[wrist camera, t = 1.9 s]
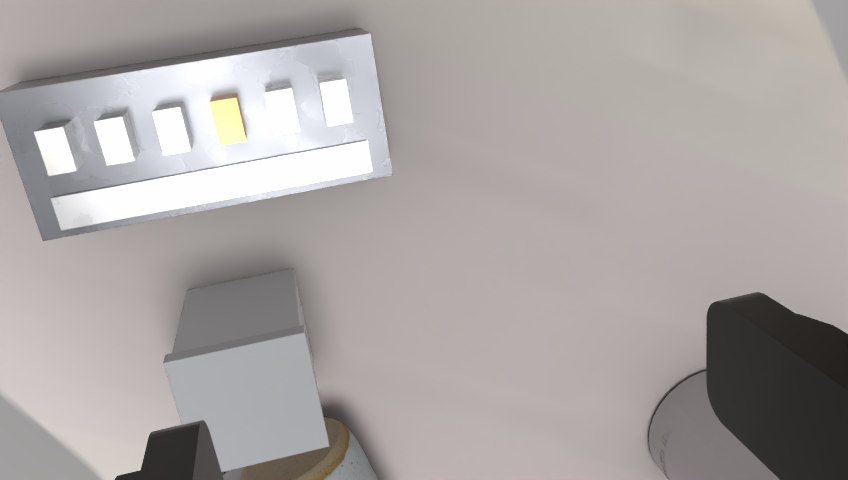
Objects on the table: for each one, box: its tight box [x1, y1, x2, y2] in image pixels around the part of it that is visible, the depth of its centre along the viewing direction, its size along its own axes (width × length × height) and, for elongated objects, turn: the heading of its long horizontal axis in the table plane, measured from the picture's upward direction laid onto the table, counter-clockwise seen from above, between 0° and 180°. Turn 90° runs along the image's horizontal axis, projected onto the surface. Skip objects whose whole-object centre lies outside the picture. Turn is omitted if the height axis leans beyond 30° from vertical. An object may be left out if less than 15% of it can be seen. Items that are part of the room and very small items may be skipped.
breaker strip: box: [0, 28, 393, 241], centre depth 36 cm, size 17×7×6 cm, turn 98°
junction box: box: [163, 268, 329, 472], centre depth 39 cm, size 7×6×9 cm
